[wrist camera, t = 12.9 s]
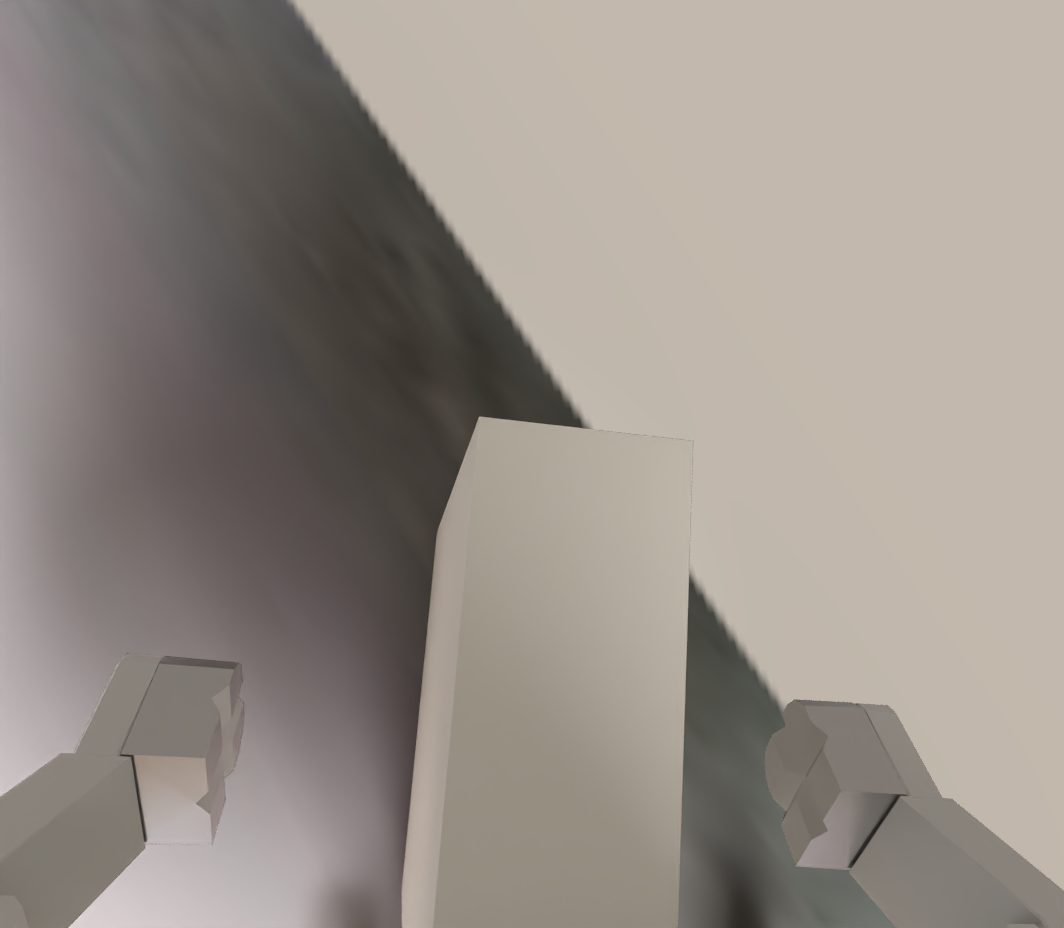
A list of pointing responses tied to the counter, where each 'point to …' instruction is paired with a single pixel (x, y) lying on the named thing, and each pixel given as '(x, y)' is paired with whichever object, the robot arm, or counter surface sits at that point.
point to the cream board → (554, 685)
